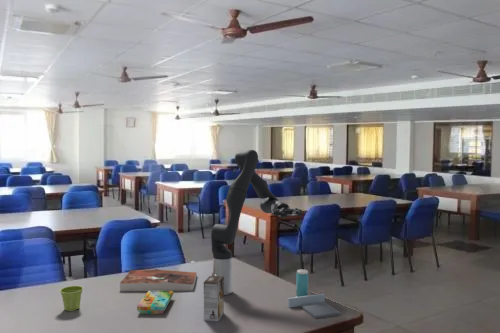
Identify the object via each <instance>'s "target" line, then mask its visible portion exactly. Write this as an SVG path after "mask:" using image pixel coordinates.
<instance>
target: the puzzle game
mask: <svg viewBox="0 0 500 333" xmlns="http://www.w3.org/2000/svg"><path fill="white" fill-rule="evenodd" d="M173 295H174V291H146V294H145V295H144V296H143V297H142V299H141V300H140V302H139V303H138V304H137V306H136V311H138V313H139V314H140V315H163V314H164V312H165V311H166V309H167V306H168V305H169V303H170V301H171V300H172V297H173Z"/></svg>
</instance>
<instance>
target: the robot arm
mask: <svg viewBox="0 0 500 333" xmlns="http://www.w3.org/2000/svg"><path fill="white" fill-rule="evenodd" d="M234 161H235V162H234V163H235V164H236V166H237V167H238V169H239V170H240V171H241V172H240V173H239V175H238V176H237V177H236V178H235V180H233V182H231V184H230V185H229V188H228V191H227V194H226V197H225V198H226V199H225V200H226V205H227V208H228V212H229V218H228V222H227V224H226V223H225V224H223V223H215V224H214V225H213V226H212V228H211V233H210V234H211V235H210V238H211V239H210V243H211V252H212V271H211V276H224V296H228V295H230V294H232V293H233V252H232V251H231V250H230V249H229V248H227V247H226V246H225V245H231V244H233V243H234V241H235V239H236V236H237V232H238V229H239V228H238V227H239V222H240V218H241V214H242V210H243V206H244V203H245V201H246V197H247V194H248V191H249V187H250V185H252V187H253V190H254V191H255V193H256V195H257V197H258V198H259V199H260V200H262V201H261V202H260V204H259V207H260V209H261V211H262V212H263V213H266V214H272V215H273V216H275V217H279V218H287V217H289V216H292V217H294V216H297V217H302V213H303V209H300V208H297V207H295V208H291V207H290V205H289V204H288V203H285V202H283V201H280V200H279V199H278V198H277V196H275V194H273V193H272V191H271V190H270V189H269V187H268V184H267V183H266V181H265V180H264V179H263V178H262V177H261V176H260V175H259V174H257V173H256V172H255V170H256V168H257V165H258V162H259V155H258V152H257V151H256V150H254V149H246V150H240V151H237V152H236V153H235V155H234Z"/></svg>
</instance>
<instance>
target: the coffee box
mask: <svg viewBox="0 0 500 333" xmlns="http://www.w3.org/2000/svg"><path fill="white" fill-rule="evenodd" d="M207 277H208V278H206V279H205V280H204V281H203V321H210V322H219V321H220V319H221V318H222V316H223V315H224V313H225V295H224V276H212V275H209V276H207Z"/></svg>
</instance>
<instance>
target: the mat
mask: <svg viewBox="0 0 500 333" xmlns="http://www.w3.org/2000/svg"><path fill="white" fill-rule="evenodd" d="M300 308H301V309H302V310H304V311H305V312H306V313H307V314H308V315H309V316H311V317H312V318H313V319H320V318H327V317H333V316H340V315H341V312H340V311H339V310H337V309H336V308H334V307H332V306H331V305H329V304H328V303H327V302H326V301H325V302H322V303H314V304H307V305H301V306H300Z"/></svg>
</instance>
